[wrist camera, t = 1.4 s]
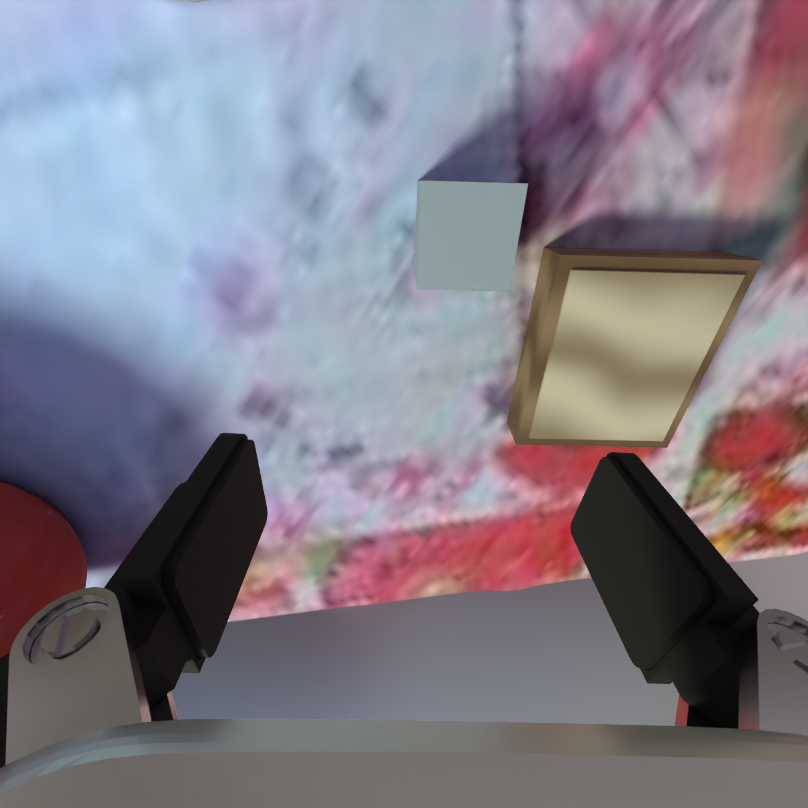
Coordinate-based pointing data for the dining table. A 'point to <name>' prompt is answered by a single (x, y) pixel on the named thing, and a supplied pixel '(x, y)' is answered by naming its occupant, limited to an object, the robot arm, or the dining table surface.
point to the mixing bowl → (33, 560)
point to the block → (467, 234)
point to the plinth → (621, 343)
